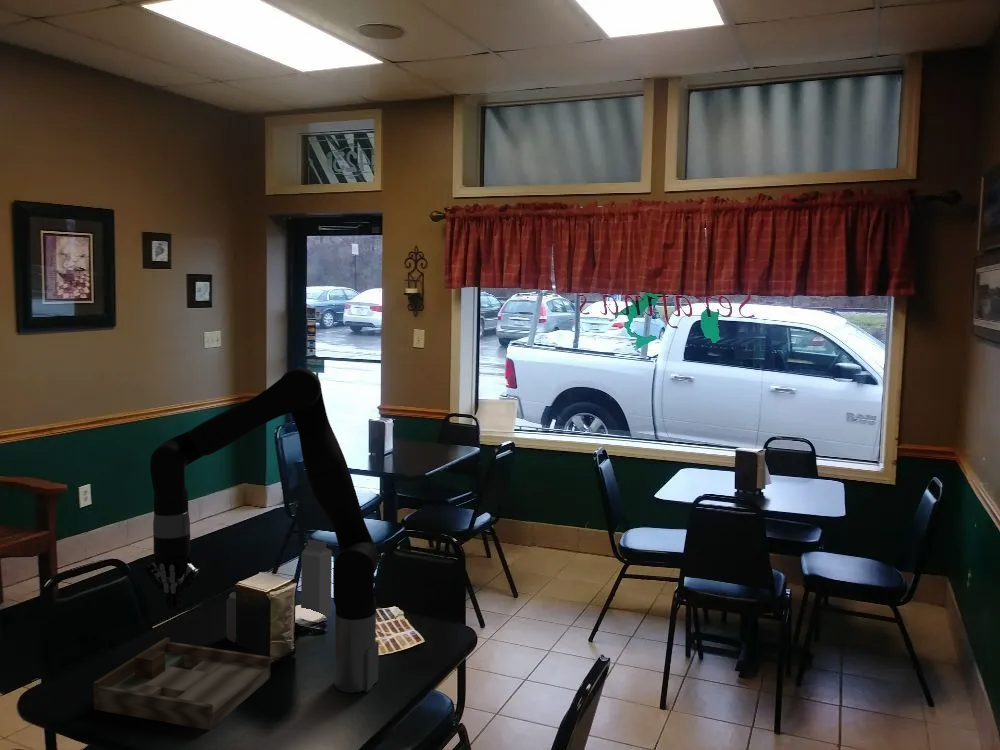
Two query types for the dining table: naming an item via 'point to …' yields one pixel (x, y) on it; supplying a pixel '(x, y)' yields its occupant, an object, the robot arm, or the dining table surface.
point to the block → (149, 664)
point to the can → (231, 617)
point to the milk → (316, 577)
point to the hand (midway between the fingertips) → (173, 607)
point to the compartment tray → (184, 685)
